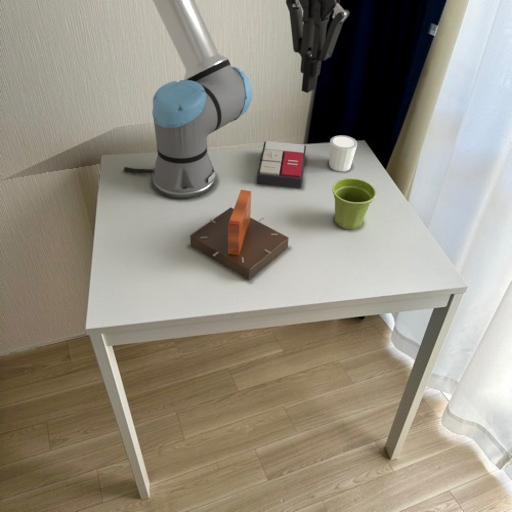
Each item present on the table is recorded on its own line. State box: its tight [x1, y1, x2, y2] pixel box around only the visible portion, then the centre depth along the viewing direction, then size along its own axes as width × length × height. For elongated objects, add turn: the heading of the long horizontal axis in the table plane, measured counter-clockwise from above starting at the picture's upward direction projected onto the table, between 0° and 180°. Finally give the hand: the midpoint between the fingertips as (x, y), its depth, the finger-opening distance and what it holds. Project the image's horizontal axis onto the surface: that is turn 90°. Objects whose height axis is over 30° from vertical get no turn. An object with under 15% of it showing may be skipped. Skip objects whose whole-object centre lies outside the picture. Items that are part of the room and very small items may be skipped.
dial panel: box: [189, 206, 290, 281], centre depth 110 cm, size 16×16×3 cm
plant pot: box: [331, 177, 377, 230], centre depth 116 cm, size 9×9×9 cm
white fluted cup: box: [328, 135, 358, 172], centre depth 134 cm, size 7×7×7 cm
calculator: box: [256, 140, 307, 189], centre depth 132 cm, size 11×4×15 cm
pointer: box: [228, 189, 252, 256], centre depth 106 cm, size 12×2×8 cm, turn 170°
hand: (308, 89), depth 108 cm, fingers closed
